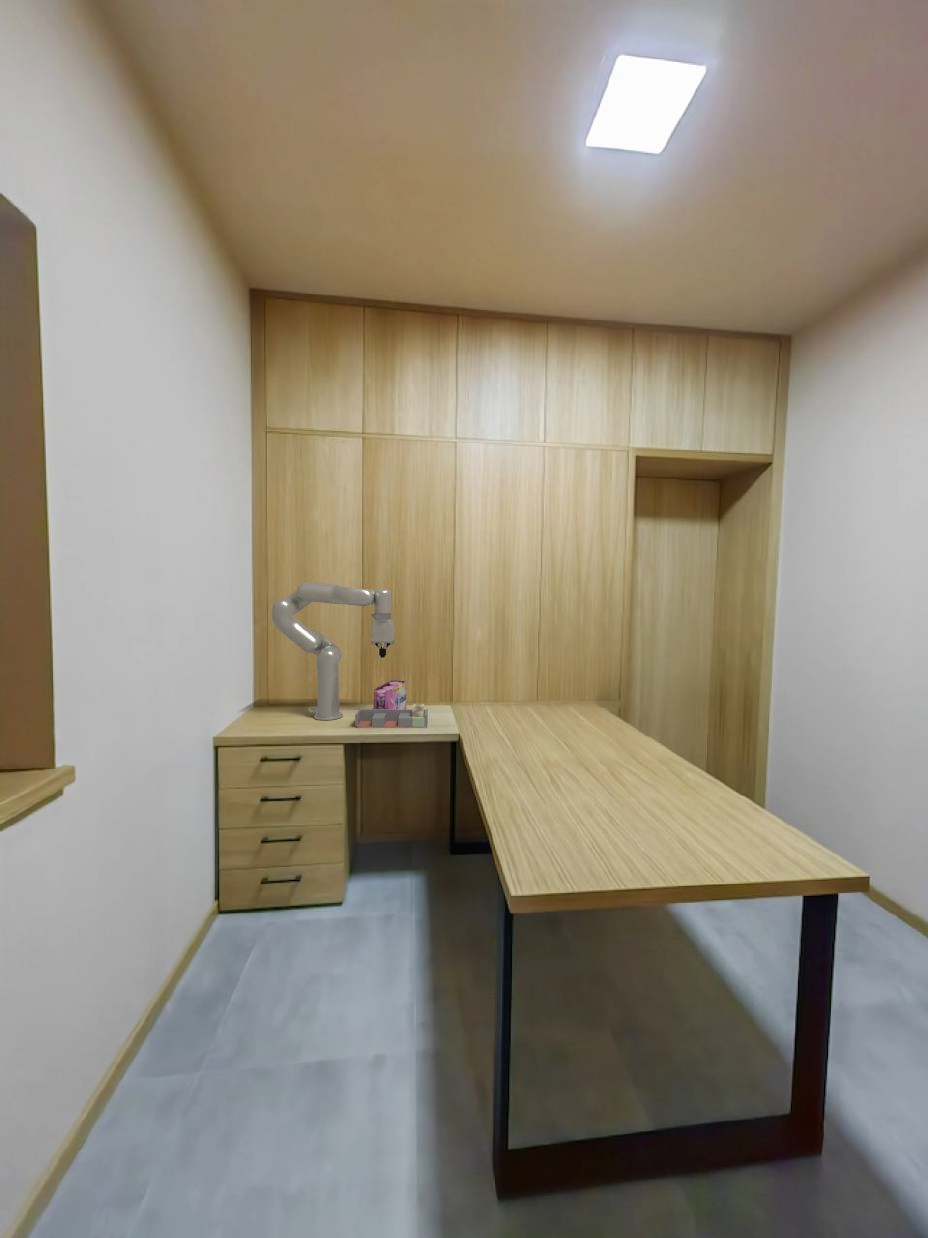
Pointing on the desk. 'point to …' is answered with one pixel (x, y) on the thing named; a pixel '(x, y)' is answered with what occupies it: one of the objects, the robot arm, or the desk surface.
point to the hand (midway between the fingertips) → (382, 657)
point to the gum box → (390, 695)
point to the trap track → (389, 718)
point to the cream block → (418, 710)
